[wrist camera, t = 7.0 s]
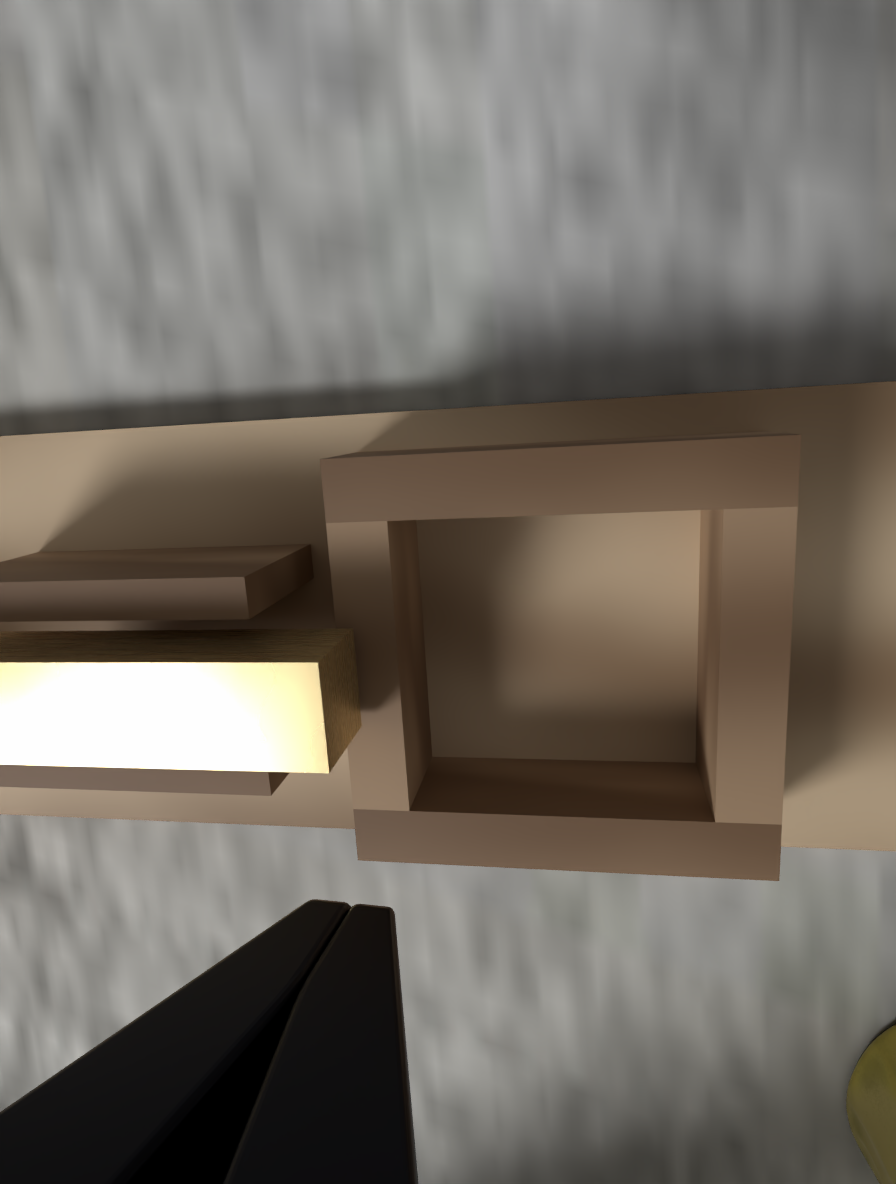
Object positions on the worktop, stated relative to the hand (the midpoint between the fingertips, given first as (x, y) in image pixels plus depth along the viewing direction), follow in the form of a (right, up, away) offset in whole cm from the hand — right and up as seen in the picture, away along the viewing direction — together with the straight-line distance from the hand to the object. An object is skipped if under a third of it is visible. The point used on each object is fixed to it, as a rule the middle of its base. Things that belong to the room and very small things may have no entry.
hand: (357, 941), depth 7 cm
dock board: (0, +3, +11) cm, 11 cm away
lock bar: (-5, +2, +8) cm, 10 cm away
